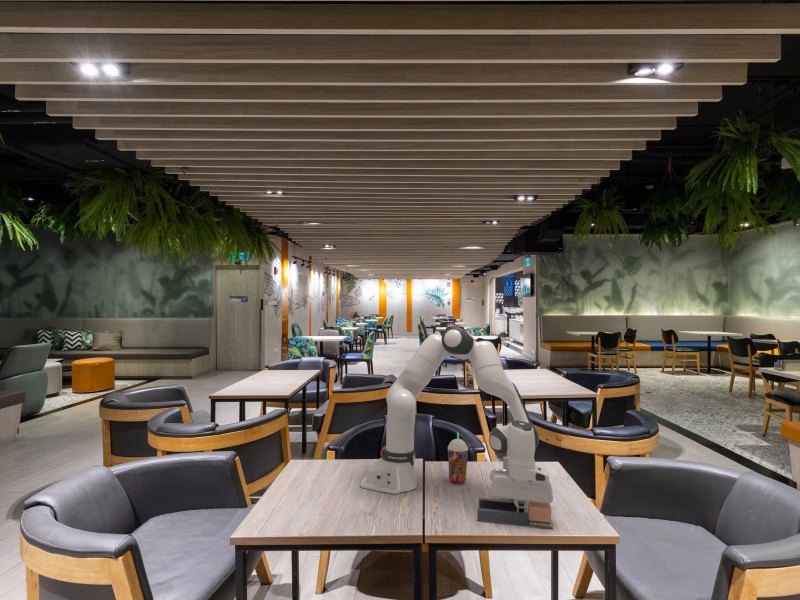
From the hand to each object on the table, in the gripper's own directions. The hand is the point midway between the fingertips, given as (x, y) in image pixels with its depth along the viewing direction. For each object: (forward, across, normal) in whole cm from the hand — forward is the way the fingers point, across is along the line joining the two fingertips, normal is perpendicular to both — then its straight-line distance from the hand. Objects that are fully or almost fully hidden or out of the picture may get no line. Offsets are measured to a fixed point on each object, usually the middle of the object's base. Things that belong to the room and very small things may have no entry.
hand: (521, 512), depth 154 cm
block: (+2, +6, 0) cm, 6 cm away
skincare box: (+2, -1, +18) cm, 18 cm away
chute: (+2, -2, 0) cm, 3 cm away
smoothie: (+2, -24, +28) cm, 37 cm away
